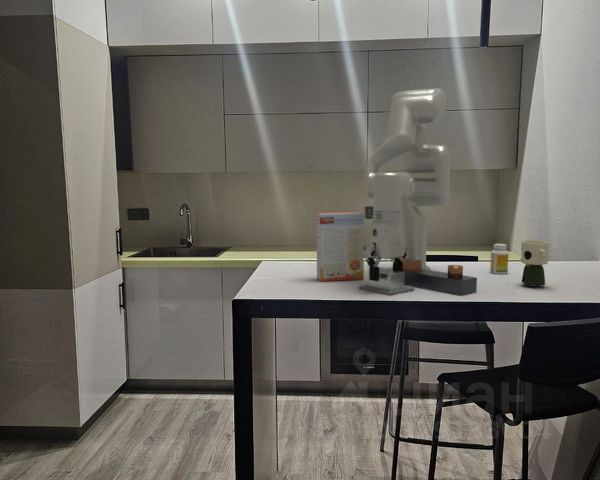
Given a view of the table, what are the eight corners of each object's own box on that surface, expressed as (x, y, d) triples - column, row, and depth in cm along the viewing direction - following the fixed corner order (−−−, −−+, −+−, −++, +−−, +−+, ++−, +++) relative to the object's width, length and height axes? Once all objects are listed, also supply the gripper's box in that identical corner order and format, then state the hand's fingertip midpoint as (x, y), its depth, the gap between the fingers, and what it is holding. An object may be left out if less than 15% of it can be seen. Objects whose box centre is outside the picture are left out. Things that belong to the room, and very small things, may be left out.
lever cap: (368, 286, 142) (368, 268, 141) (382, 283, 145) (383, 266, 145) (389, 291, 135) (390, 271, 135) (404, 288, 139) (404, 269, 138)
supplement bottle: (487, 272, 166) (488, 244, 165) (495, 271, 170) (496, 243, 169) (502, 275, 162) (503, 245, 161) (510, 273, 166) (511, 244, 165)
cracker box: (358, 276, 161) (358, 211, 159) (364, 280, 155) (364, 212, 153) (315, 278, 158) (315, 212, 156) (320, 281, 152) (320, 213, 150)
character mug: (512, 282, 149) (513, 239, 148) (535, 282, 149) (537, 239, 148) (530, 290, 138) (532, 243, 137) (555, 289, 139) (557, 243, 137)
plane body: (392, 282, 151) (392, 259, 150) (407, 279, 155) (407, 257, 154) (461, 295, 132) (462, 269, 131) (476, 291, 136) (477, 266, 136)
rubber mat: (358, 288, 142) (358, 286, 142) (382, 284, 148) (382, 282, 148) (390, 295, 133) (390, 293, 132) (414, 290, 139) (414, 288, 139)
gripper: (375, 219, 130) (374, 284, 132) (417, 216, 141) (416, 276, 142) (355, 218, 136) (354, 280, 138) (397, 215, 146) (396, 273, 148)
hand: (386, 278), depth 140 cm, fingers open, 9 cm apart
